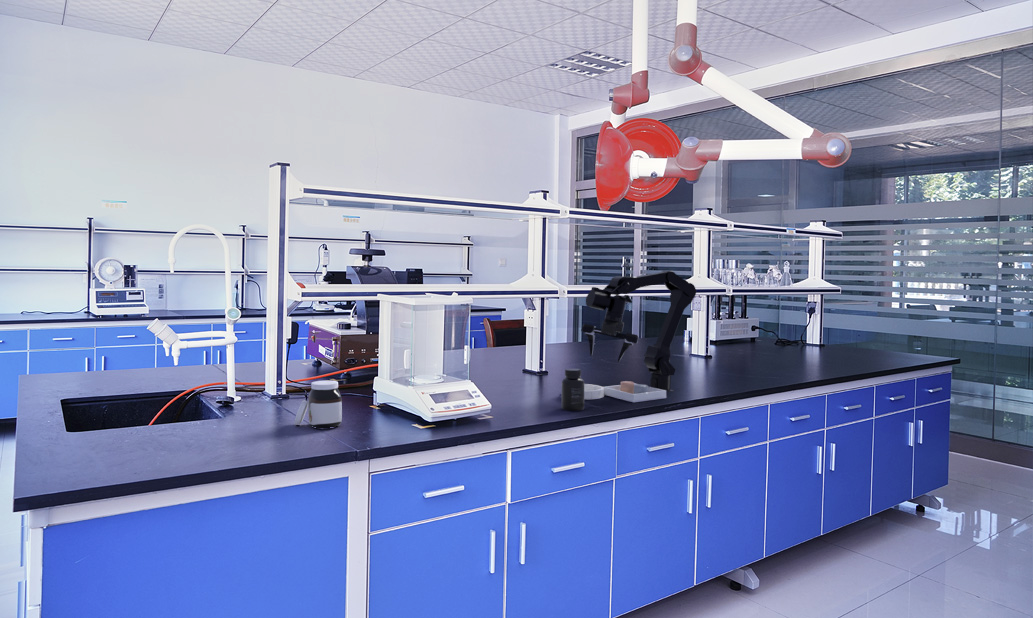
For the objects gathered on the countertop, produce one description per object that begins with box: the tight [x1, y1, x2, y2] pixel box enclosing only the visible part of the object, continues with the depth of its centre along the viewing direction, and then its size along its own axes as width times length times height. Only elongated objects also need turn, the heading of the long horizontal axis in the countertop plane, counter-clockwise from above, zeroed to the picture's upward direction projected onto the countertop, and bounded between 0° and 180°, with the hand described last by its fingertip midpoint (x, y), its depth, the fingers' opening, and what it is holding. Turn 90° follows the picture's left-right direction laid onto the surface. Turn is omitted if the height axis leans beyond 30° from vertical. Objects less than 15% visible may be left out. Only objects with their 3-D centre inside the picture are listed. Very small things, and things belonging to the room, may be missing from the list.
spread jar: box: [293, 379, 343, 428], centre depth 174 cm, size 12×11×12 cm
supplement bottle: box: [561, 368, 585, 412], centre depth 199 cm, size 7×7×12 cm
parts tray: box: [602, 382, 667, 403], centre depth 218 cm, size 14×15×3 cm
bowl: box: [584, 383, 605, 400], centre depth 218 cm, size 13×13×3 cm
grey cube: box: [634, 383, 649, 394], centre depth 215 cm, size 4×4×4 cm
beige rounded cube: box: [620, 380, 635, 394], centre depth 220 cm, size 4×4×4 cm
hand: (604, 359), depth 221 cm, fingers open, 9 cm apart
